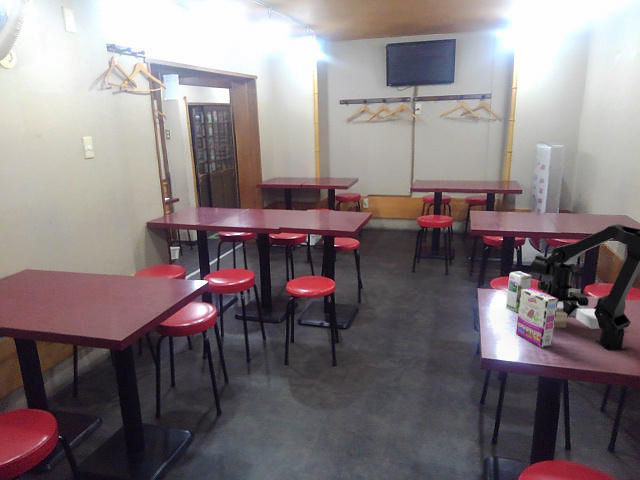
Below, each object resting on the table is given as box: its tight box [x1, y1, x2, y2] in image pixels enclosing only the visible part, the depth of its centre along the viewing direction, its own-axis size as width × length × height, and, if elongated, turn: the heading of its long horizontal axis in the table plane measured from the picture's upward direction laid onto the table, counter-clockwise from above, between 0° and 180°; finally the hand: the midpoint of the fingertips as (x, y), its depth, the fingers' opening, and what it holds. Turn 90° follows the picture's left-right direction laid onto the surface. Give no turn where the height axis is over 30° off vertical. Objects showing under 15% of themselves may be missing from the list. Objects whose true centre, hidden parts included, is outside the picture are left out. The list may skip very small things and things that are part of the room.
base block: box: [575, 308, 601, 330], centre depth 162 cm, size 9×9×4 cm
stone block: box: [557, 302, 588, 317], centre depth 173 cm, size 12×5×10 cm
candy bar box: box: [515, 287, 558, 349], centre depth 148 cm, size 11×5×16 cm, turn 21°
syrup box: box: [505, 271, 532, 313], centre depth 173 cm, size 6×6×14 cm
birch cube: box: [554, 309, 568, 328], centre depth 161 cm, size 5×5×5 cm
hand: (555, 321), depth 161 cm, fingers closed on birch cube, 5 cm apart
